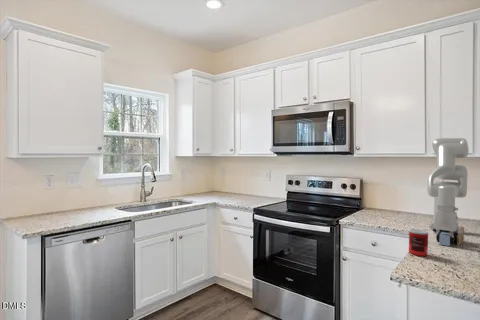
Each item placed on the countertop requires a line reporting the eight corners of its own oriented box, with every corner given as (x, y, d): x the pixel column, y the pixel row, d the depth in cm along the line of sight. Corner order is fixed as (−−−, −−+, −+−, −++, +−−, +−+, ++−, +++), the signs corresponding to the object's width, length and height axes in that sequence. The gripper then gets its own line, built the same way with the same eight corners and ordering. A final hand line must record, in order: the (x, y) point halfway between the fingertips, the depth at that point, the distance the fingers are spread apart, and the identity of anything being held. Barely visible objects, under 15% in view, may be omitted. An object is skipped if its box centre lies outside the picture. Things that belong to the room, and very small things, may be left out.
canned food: (420, 251, 145) (421, 229, 145) (431, 257, 137) (432, 233, 137) (404, 251, 145) (405, 228, 144) (415, 257, 137) (415, 233, 136)
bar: (442, 239, 167) (442, 230, 167) (452, 241, 164) (452, 232, 164) (439, 244, 158) (439, 234, 157) (449, 246, 155) (449, 236, 155)
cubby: (442, 237, 173) (442, 224, 173) (463, 241, 166) (463, 227, 166) (436, 241, 165) (437, 226, 165) (458, 245, 158) (459, 230, 158)
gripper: (467, 210, 154) (466, 245, 154) (429, 206, 166) (428, 238, 167) (464, 212, 149) (463, 248, 149) (425, 207, 161) (424, 240, 162)
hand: (445, 242), depth 158 cm, fingers closed on bar, 4 cm apart
